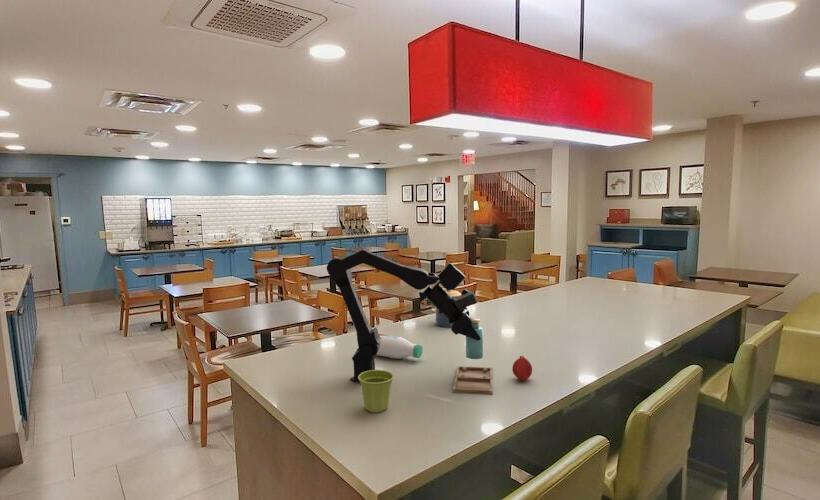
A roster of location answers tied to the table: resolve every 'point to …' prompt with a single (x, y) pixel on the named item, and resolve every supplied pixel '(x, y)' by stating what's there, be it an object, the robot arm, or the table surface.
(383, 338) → the milk bottle
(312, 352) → the table surface
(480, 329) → the bottle
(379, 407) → the plant pot
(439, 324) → the canister
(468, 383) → the double tray
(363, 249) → the robot arm
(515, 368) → the onion
